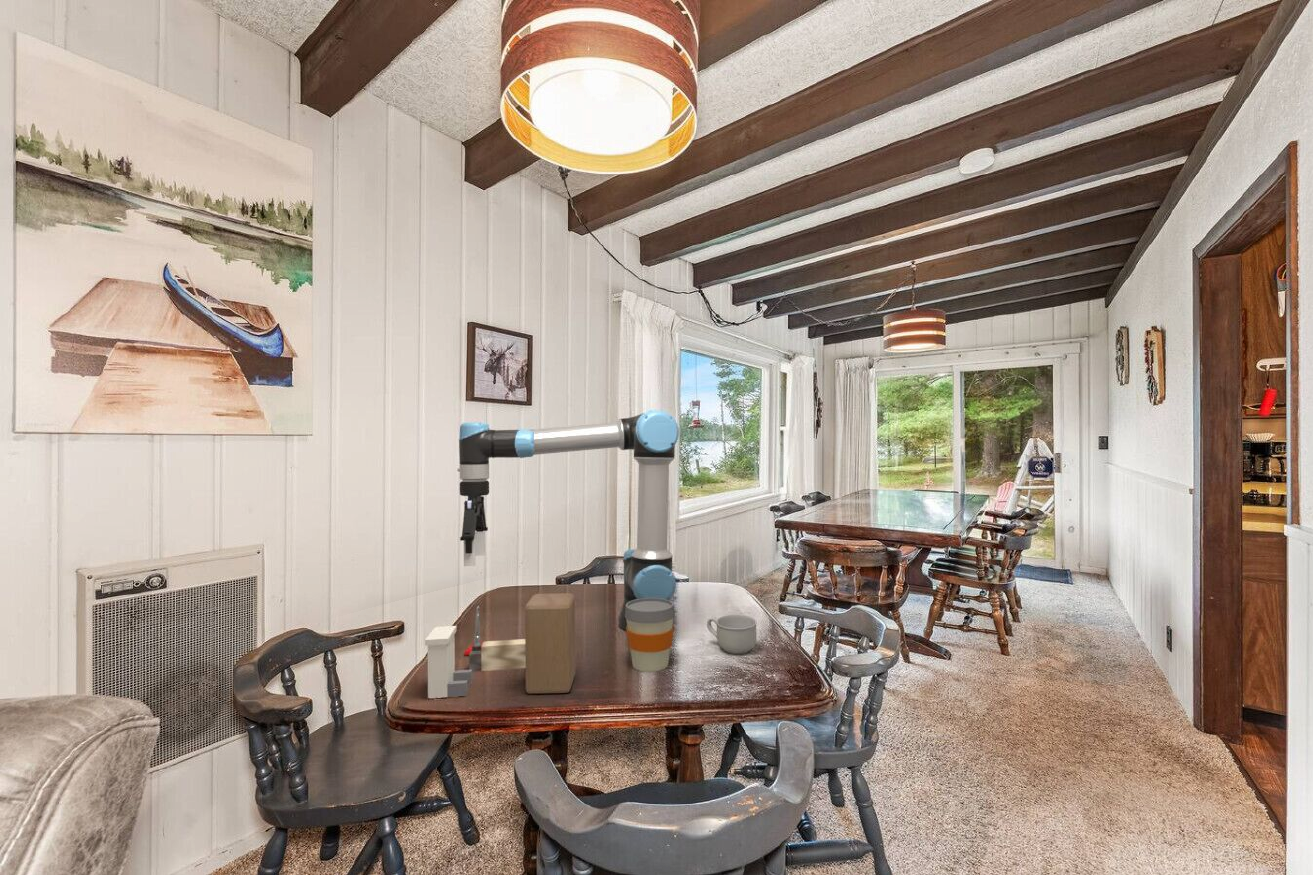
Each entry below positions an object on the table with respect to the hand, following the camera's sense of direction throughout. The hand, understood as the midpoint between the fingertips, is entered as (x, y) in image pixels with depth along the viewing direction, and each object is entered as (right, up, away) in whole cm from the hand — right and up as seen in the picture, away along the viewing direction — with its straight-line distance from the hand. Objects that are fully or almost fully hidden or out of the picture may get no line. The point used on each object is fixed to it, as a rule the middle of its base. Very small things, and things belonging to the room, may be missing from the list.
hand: (474, 560), depth 149 cm
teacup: (+69, -24, +2) cm, 73 cm away
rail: (+9, -25, -9) cm, 28 cm away
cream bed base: (+2, -25, -22) cm, 33 cm away
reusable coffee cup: (+47, -24, -9) cm, 54 cm away
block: (+24, -25, -20) cm, 40 cm away
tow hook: (+1, -25, +3) cm, 25 cm away
